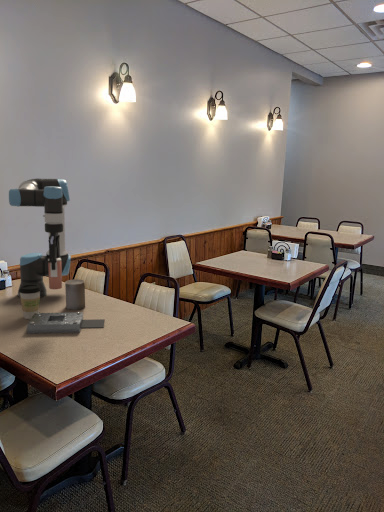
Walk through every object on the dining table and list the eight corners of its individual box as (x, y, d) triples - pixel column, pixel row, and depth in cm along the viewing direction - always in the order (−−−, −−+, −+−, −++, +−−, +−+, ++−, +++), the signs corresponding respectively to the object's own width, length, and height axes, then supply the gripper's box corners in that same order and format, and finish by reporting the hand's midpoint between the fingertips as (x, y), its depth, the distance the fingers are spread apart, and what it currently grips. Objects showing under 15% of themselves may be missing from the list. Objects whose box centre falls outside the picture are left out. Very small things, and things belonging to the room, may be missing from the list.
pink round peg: (50, 285, 184) (49, 257, 182) (62, 285, 185) (62, 257, 183) (48, 289, 179) (47, 260, 177) (60, 289, 180) (60, 260, 177)
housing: (34, 321, 191) (34, 311, 190) (83, 320, 195) (83, 311, 194) (27, 333, 177) (26, 323, 176) (79, 332, 180) (79, 322, 179)
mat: (83, 320, 195) (83, 319, 195) (104, 320, 196) (104, 319, 196) (80, 328, 185) (80, 327, 185) (103, 327, 187) (103, 327, 187)
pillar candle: (84, 303, 219) (83, 276, 216) (85, 309, 210) (85, 281, 207) (65, 304, 216) (64, 277, 213) (66, 310, 207) (65, 282, 204)
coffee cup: (34, 321, 191) (33, 290, 188) (15, 319, 193) (14, 288, 190) (45, 314, 200) (44, 285, 197) (27, 312, 202) (26, 283, 199)
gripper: (48, 219, 185) (50, 269, 189) (40, 225, 167) (42, 280, 172) (66, 220, 186) (67, 270, 191) (59, 225, 168) (60, 280, 173)
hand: (55, 274), depth 181 cm, fingers closed on pink round peg, 5 cm apart
